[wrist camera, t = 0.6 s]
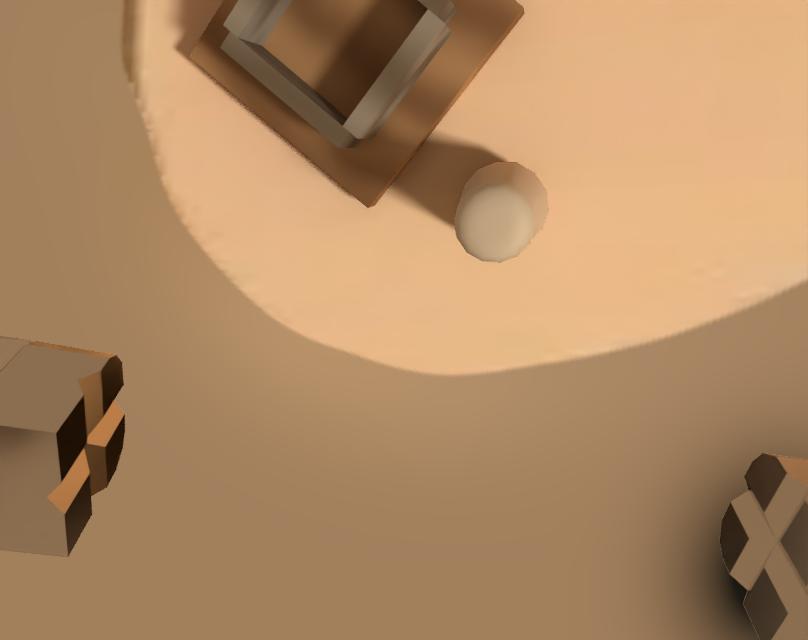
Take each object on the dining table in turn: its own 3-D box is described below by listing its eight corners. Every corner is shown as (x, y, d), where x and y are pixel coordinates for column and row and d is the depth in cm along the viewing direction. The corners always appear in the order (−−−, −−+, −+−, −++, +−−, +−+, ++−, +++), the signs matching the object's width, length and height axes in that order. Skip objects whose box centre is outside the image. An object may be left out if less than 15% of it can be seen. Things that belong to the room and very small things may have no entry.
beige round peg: (448, 219, 50) (416, 244, 38) (488, 145, 49) (470, 146, 36) (520, 260, 50) (513, 299, 38) (564, 187, 48) (571, 203, 36)
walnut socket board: (334, -149, 46) (304, -190, 40) (524, 13, 46) (521, -6, 40) (201, 60, 51) (158, 49, 45) (374, 205, 51) (353, 213, 45)
